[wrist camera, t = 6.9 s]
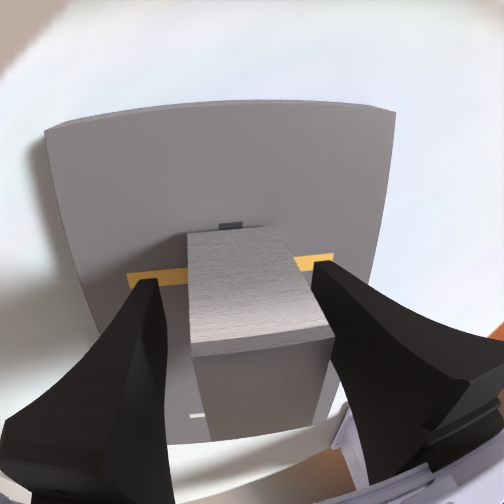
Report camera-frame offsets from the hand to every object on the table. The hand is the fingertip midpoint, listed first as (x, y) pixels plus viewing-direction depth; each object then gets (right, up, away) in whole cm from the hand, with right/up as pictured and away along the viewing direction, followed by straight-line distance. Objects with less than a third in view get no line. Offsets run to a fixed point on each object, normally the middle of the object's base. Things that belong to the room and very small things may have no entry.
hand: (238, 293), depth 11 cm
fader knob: (0, 0, +1) cm, 1 cm away
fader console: (-1, -2, +5) cm, 5 cm away
